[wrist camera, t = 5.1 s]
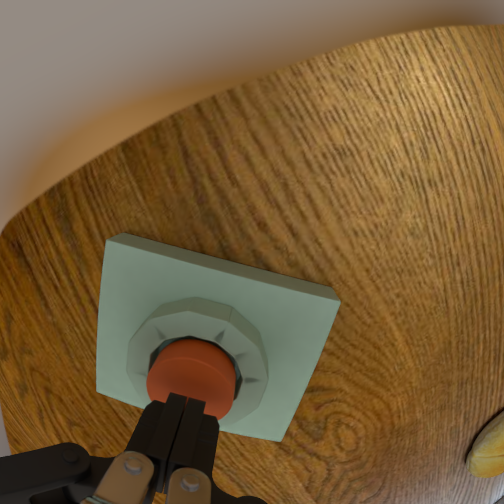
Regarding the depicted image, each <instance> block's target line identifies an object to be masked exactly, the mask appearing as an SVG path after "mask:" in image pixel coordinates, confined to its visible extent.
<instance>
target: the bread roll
mask: <svg viewBox="0 0 504 504" xmlns="http://www.w3.org/2000/svg"><path fill="white" fill-rule="evenodd" d="M466 468H467V470H468V471H469V472H470V473H471V474H473V475H474V476H476V477H482V478H490V477H493V476H497V475H499V474H501V473H503V472H504V410H503V411H502V412H501V413H500V414H499V415H498V416H496V417H495V418H494V419H493V420H492V421H491V422H490V423H489V424H488V425H487V426H486V427H485V428H484V429H483V430H482V432H481V433H480V434H479V436H478V437H477V439H476V440H475V442H474V444H473V447H472V450H471V451H470V452H469V454H468V456H467V461H466Z"/></svg>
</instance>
